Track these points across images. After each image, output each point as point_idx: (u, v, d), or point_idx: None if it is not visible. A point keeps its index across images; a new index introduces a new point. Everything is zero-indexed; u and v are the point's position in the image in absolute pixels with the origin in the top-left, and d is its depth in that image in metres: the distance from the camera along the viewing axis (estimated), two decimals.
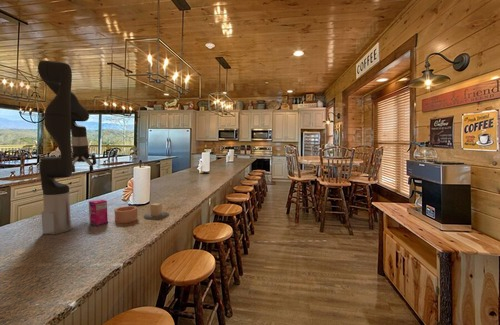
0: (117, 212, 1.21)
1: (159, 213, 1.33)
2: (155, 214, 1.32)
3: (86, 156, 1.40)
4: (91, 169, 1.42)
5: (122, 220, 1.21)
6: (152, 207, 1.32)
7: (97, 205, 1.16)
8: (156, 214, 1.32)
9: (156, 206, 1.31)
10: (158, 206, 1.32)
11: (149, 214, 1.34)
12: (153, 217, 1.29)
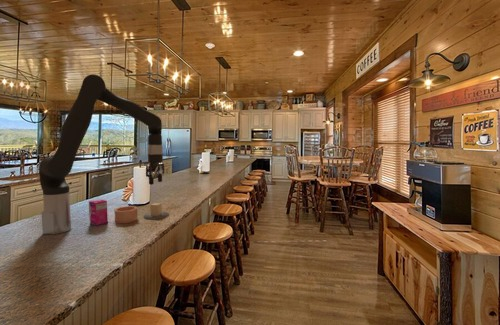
0: (117, 212, 1.21)
1: (159, 213, 1.33)
2: (155, 214, 1.32)
3: None
4: (149, 181, 1.28)
5: (122, 220, 1.21)
6: (152, 207, 1.32)
7: (97, 205, 1.16)
8: (156, 214, 1.32)
9: (156, 206, 1.31)
10: (158, 206, 1.32)
11: (149, 214, 1.34)
12: (153, 217, 1.29)
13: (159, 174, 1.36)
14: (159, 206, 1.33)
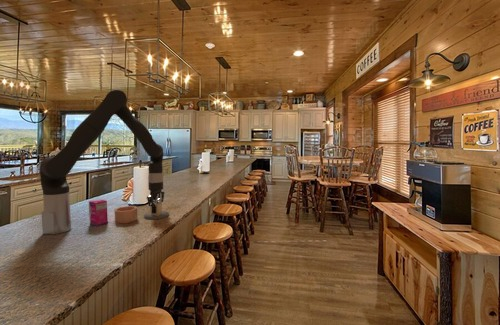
0: (117, 212, 1.21)
1: (159, 212, 1.33)
2: (155, 213, 1.32)
3: None
4: (152, 210, 1.31)
5: (122, 220, 1.21)
6: None
7: (97, 205, 1.16)
8: (156, 213, 1.32)
9: (156, 205, 1.31)
10: (158, 205, 1.32)
11: (149, 213, 1.34)
12: (153, 216, 1.29)
13: None
14: (159, 205, 1.33)
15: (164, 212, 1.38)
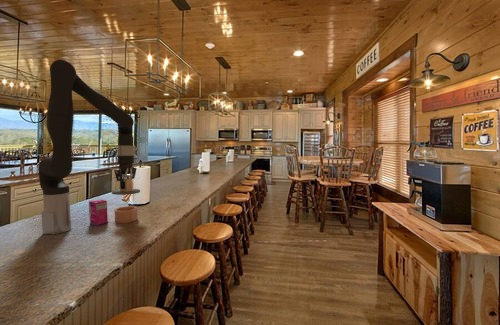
0: (117, 212, 1.21)
1: (129, 189, 1.24)
2: (124, 189, 1.22)
3: None
4: None
5: (122, 220, 1.21)
6: None
7: (97, 205, 1.16)
8: (125, 189, 1.22)
9: (125, 181, 1.22)
10: (128, 181, 1.23)
11: (118, 190, 1.25)
12: (121, 192, 1.20)
13: None
14: (129, 181, 1.24)
15: (135, 189, 1.28)
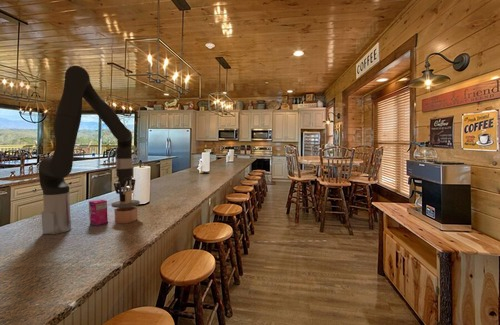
0: (117, 212, 1.21)
1: (129, 201, 1.25)
2: (124, 202, 1.23)
3: None
4: (120, 198, 1.23)
5: (122, 220, 1.21)
6: None
7: (97, 205, 1.16)
8: (125, 202, 1.23)
9: (125, 193, 1.23)
10: (127, 193, 1.24)
11: (118, 202, 1.26)
12: (121, 205, 1.21)
13: None
14: (128, 193, 1.25)
15: (135, 201, 1.29)
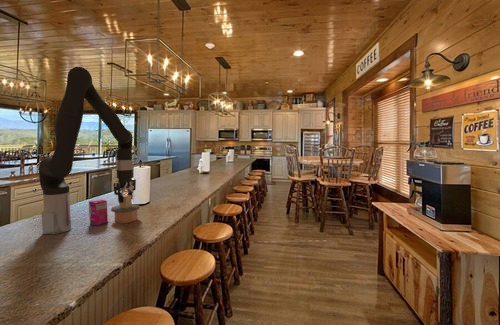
0: (117, 212, 1.21)
1: (128, 205, 1.25)
2: (124, 206, 1.23)
3: None
4: None
5: (122, 220, 1.21)
6: None
7: (97, 205, 1.16)
8: (125, 206, 1.23)
9: (125, 198, 1.23)
10: (127, 198, 1.24)
11: (118, 206, 1.26)
12: (121, 209, 1.21)
13: (129, 191, 1.28)
14: (128, 198, 1.25)
15: (135, 205, 1.29)
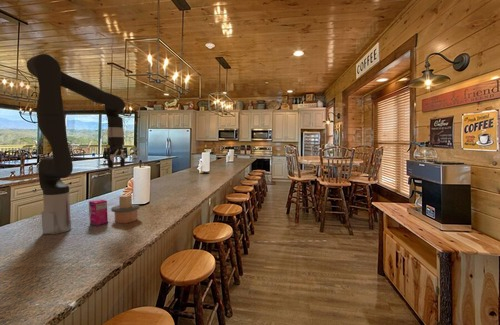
0: (117, 212, 1.21)
1: (128, 205, 1.25)
2: (124, 206, 1.23)
3: None
4: None
5: (122, 220, 1.21)
6: (121, 199, 1.23)
7: (97, 205, 1.16)
8: (125, 206, 1.23)
9: (125, 198, 1.23)
10: (127, 198, 1.24)
11: (118, 206, 1.26)
12: (121, 209, 1.21)
13: (121, 158, 1.33)
14: (128, 198, 1.25)
15: (135, 205, 1.29)
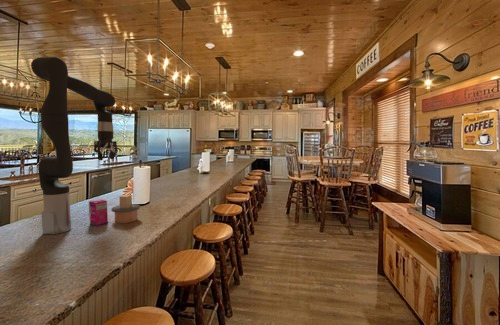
0: (117, 212, 1.21)
1: (129, 205, 1.25)
2: (124, 206, 1.23)
3: None
4: None
5: (122, 220, 1.21)
6: (121, 199, 1.23)
7: (97, 205, 1.16)
8: (125, 206, 1.23)
9: (125, 198, 1.23)
10: (127, 198, 1.24)
11: (118, 207, 1.26)
12: (121, 209, 1.21)
13: (111, 151, 1.40)
14: (129, 198, 1.25)
15: (135, 205, 1.29)
